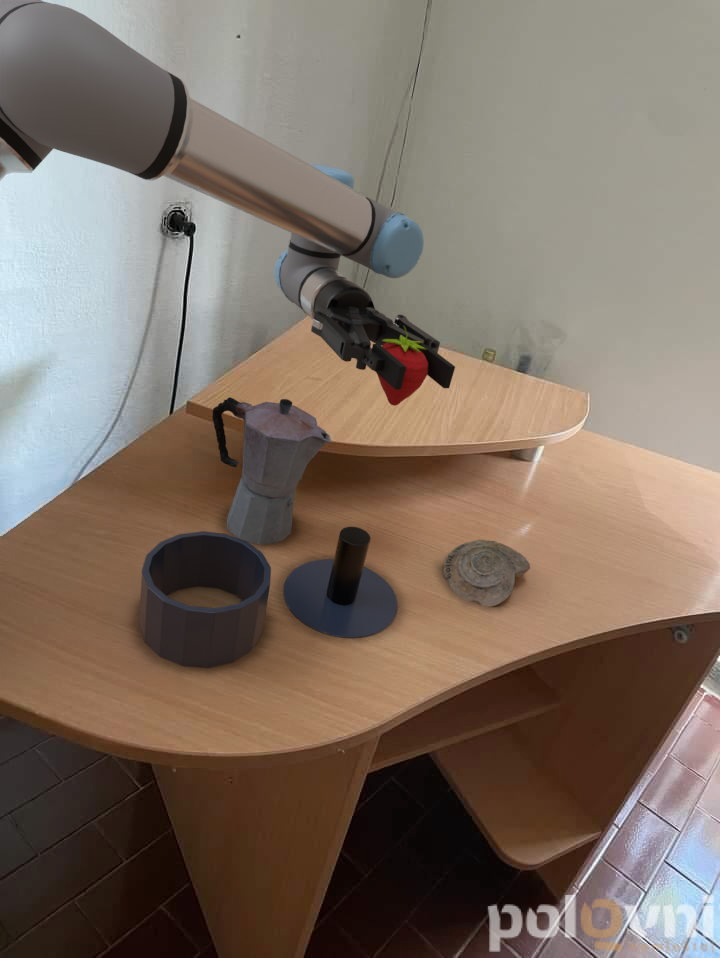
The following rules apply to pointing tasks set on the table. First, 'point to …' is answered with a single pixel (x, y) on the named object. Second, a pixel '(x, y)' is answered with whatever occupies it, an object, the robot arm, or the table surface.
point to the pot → (199, 628)
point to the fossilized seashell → (484, 571)
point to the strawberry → (414, 368)
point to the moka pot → (268, 465)
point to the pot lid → (342, 591)
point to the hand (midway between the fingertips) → (425, 377)
